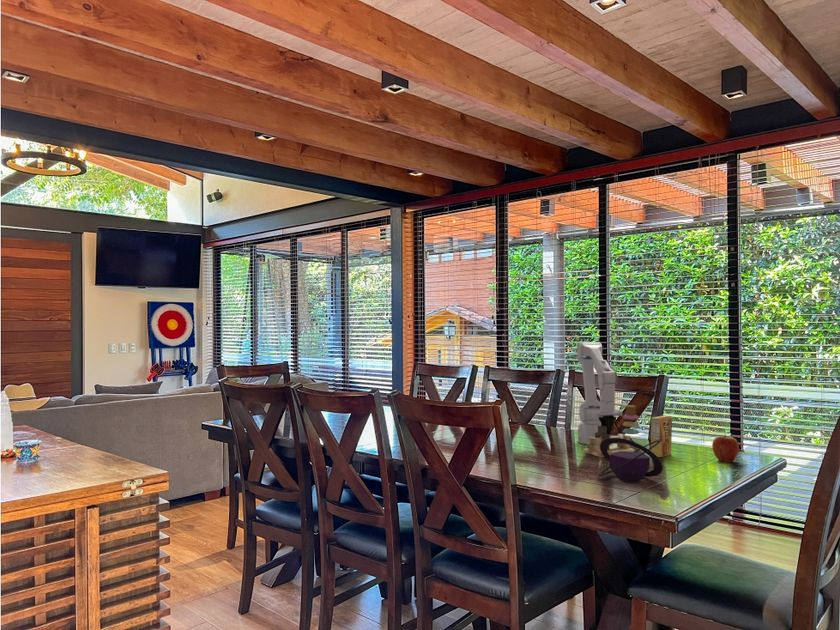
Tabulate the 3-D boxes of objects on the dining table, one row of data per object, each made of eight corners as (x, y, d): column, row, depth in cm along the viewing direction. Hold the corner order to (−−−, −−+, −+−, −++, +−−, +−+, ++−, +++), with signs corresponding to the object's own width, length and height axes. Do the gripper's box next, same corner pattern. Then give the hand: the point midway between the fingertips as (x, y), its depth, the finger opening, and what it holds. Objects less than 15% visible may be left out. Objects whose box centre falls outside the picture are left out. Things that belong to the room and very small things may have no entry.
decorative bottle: (677, 482, 206) (677, 406, 206) (647, 493, 191) (648, 412, 192) (614, 469, 222) (615, 399, 222) (583, 480, 207) (583, 404, 208)
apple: (711, 462, 236) (711, 435, 236) (712, 457, 244) (712, 432, 244) (738, 465, 232) (738, 438, 232) (738, 460, 240) (738, 434, 240)
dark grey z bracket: (594, 447, 252) (595, 425, 252) (598, 447, 252) (598, 424, 253) (605, 450, 246) (606, 427, 246) (609, 449, 247) (609, 427, 247)
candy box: (662, 453, 251) (662, 415, 251) (672, 455, 248) (672, 416, 248) (650, 456, 246) (650, 417, 246) (660, 458, 242) (660, 418, 243)
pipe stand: (583, 452, 251) (583, 436, 251) (616, 448, 260) (616, 432, 260) (601, 457, 242) (601, 440, 243) (634, 453, 251) (634, 436, 251)
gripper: (601, 402, 244) (601, 437, 244) (628, 400, 251) (627, 434, 251) (588, 400, 250) (588, 434, 250) (614, 398, 257) (614, 431, 257)
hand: (607, 434), depth 251 cm, fingers closed
